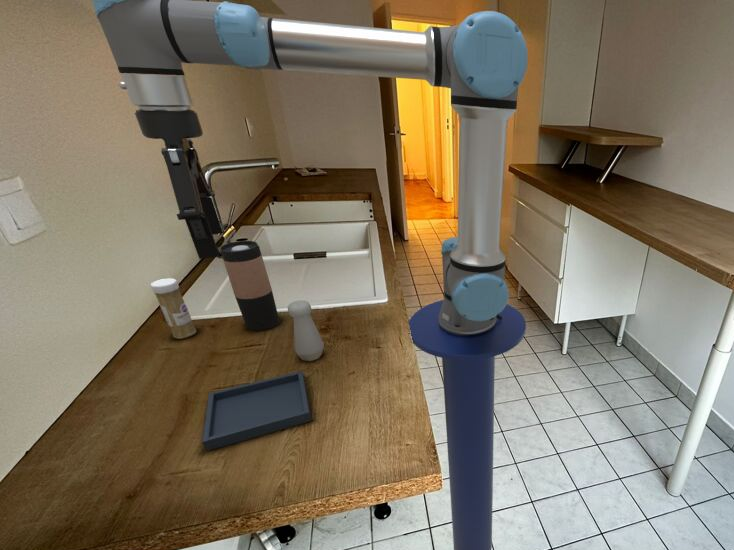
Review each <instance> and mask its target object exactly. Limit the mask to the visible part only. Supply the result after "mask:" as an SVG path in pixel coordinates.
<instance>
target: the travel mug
mask: <svg viewBox="0 0 734 550" xmlns="http://www.w3.org/2000/svg"><path fill="white" fill-rule="evenodd" d="M219 252H220V255H221V258H222V260H223V265H224V267H225V270H226V274H227V276H228V279H229V283H230V285H231V289H232V290H233V295H234V298H235V300H236V303H237V306H238V308H239V311H240V314H241V316H242V319H243V321H244V322H243V323H244V324H245V326H246V328H247V330H249V331H253V332H260V331H261V332H262V331H265V330H270V329H272V328H274V327H276V326H277V325H278V324H279V323H280V317H279V312H278V309H277V304H276V300H275V297H274V292H273V289H272V286H271V285H272V284H271V282H270V278H269V275H268V271H267V269H266V265H265V262H264V258H263V254H262V251H261V248H260V246H259V244H258V243H257V242H256V241H254V240H239V241H238V240H237V241H232V242H228V243H225V244H223V245H221V246H220V247H219Z"/></svg>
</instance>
